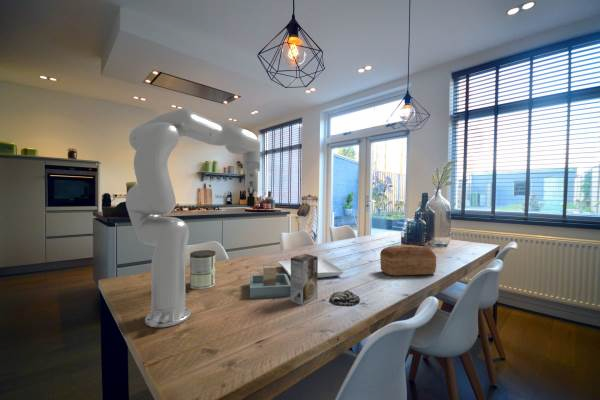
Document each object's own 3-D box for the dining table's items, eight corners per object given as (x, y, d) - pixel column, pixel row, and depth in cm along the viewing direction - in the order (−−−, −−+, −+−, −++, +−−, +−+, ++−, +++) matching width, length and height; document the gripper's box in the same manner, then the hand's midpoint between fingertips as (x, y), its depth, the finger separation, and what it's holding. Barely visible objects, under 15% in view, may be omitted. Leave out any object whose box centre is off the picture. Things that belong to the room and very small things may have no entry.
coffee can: (187, 284, 113) (187, 251, 112) (210, 279, 119) (211, 249, 118) (193, 291, 104) (193, 256, 104) (218, 286, 110) (218, 253, 110)
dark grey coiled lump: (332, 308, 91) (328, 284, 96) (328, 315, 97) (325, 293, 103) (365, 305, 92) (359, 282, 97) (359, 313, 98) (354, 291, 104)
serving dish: (291, 296, 101) (291, 285, 101) (249, 298, 98) (249, 287, 98) (286, 282, 116) (286, 273, 116) (249, 284, 113) (250, 275, 113)
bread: (376, 270, 138) (377, 243, 138) (424, 269, 142) (425, 243, 142) (387, 277, 126) (388, 248, 126) (439, 275, 130) (440, 247, 130)
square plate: (277, 267, 142) (277, 260, 142) (323, 264, 151) (323, 257, 151) (290, 283, 117) (290, 274, 117) (345, 278, 125) (345, 270, 125)
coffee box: (304, 294, 103) (305, 253, 103) (317, 298, 99) (318, 256, 99) (289, 300, 96) (290, 257, 96) (303, 305, 92) (303, 260, 92)
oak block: (276, 289, 105) (276, 267, 105) (263, 289, 104) (263, 267, 104) (274, 285, 110) (275, 264, 110) (263, 285, 109) (263, 264, 109)
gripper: (260, 165, 107) (260, 206, 107) (259, 169, 124) (258, 205, 124) (242, 164, 105) (241, 206, 106) (243, 169, 122) (242, 205, 123)
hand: (250, 205), depth 115 cm, fingers open, 9 cm apart
